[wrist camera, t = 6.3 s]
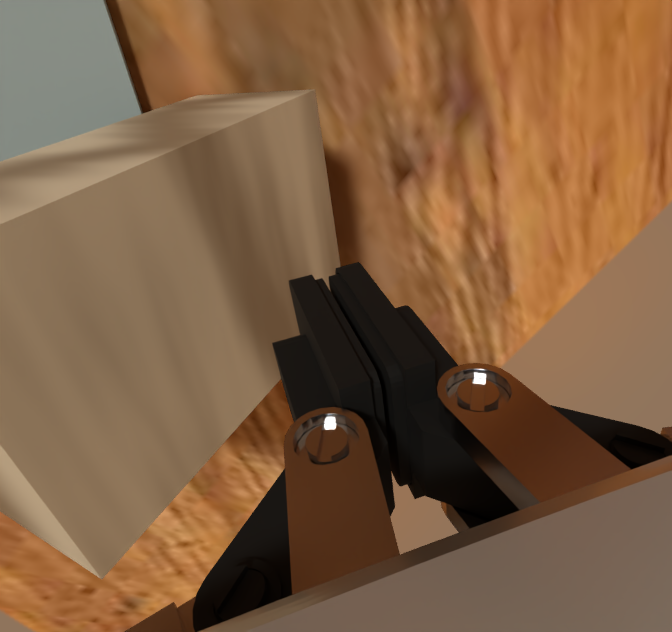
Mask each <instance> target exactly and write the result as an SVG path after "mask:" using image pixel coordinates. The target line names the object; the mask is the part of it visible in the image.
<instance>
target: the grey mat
mask: <svg viewBox="0 0 672 632" xmlns="http://www.w3.org/2000/svg"><path fill="white" fill-rule="evenodd" d="M140 114H143V111H142V108H141V105H140V102H139V99H138V96H137V93H136V90H135V87H134V84H133V81H132V78H131V75H130V72H129V69H128V66H127V63H126V60H125V57H124V54H123V51H122V48H121V45H120V42H119V39H118V36H117V33H116V30H115V27H114V24H113V21H112V18H111V15H110V12H109V9H108V6H107V3H106V0H0V161H3V160H6V159H9V158H12V157H15V156H18V155H21V154H24V153H27V152H30V151H33V150H36V149H39V148H42V147H45V146H48V145H51V144H54V143H57V142H60V141H63V140H66V139H69V138H72V137H75V136H78V135H81V134H84V133H87V132H90V131H93V130H96V129H99V128H102V127H105V126H108V125H111V124H113V123H116V122H119V121H122V120H125V119H128V118H131V117H134V116H137V115H140Z"/></svg>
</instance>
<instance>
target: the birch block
mask: <svg viewBox="0 0 672 632" xmlns="http://www.w3.org/2000/svg"><path fill="white" fill-rule="evenodd" d="M338 267H341V266H340V259H339V252H338V245H337V238H336V231H335V224H334V217H333V211H332V204H331V197H330V190H329V183H328V176H327V169H326V162H325V156H324V149H323V142H322V135H321V128H320V121H319V114H318V107H317V101H316V94H315V90H295V91H276V92H256V93H237V94H217V95H198V96H194V97H191V98H188V99H185V100H182V101H179V102H176V103H173V104H170V105H167V106H164V107H161V108H158V109H155V110H152V111H149V112H146V113H143V114H140V115H137V116H134V117H131V118H128V119H125V120H122V121H119V122H116V123H113V124H111V125H108V126H105V127H102V128H99V129H96V130H93V131H90V132H87V133H84V134H81V135H78V136H75V137H72V138H69V139H66V140H63V141H60V142H57V143H54V144H51V145H48V146H45V147H42V148H39V149H36V150H33V151H30V152H27V153H24V154H21V155H18V156H15V157H12V158H9V159H6V160H3V161H0V512H2V513H3V514H5V515H6V516H8V517H9V518H11V519H12V520H14V521H15V522H17V523H18V524H20V525H21V526H23V527H24V528H26V529H27V530H29V531H30V532H32V533H33V534H35V535H36V536H38V537H39V538H41V539H42V540H44V541H45V542H47V543H48V544H50V545H51V546H53V547H54V548H56V549H57V550H59V551H60V552H62V553H63V554H65V555H66V556H68V557H69V558H71V559H72V560H74V561H75V562H77V563H78V564H80V565H81V566H83V567H84V568H86V569H87V570H89V571H90V572H92V573H93V574H95V575H96V576H98V577H99V578H101V579H103V578H104V576H105V575H106V574H107V573H108V572H109V571H110V570H111V569H112V568H113V566H114V565H115V564H116V563H117V562H118V561H119V560H120V559H121V557H122V556H123V555H124V554H125V553H126V552H127V551H128V550H129V548H130V547H131V546H132V545H133V544H134V543H135V542H136V541H137V540H138V538H139V537H140V536H141V535H142V534H143V533H144V532H145V531H146V529H147V528H148V527H149V526H150V525H151V524H152V523H153V522H154V520H155V519H156V518H157V517H158V516H159V515H160V514H161V513H162V512H163V510H164V509H165V508H166V507H167V506H168V505H169V504H170V503H171V501H172V500H173V499H174V498H175V497H176V496H177V495H178V494H179V492H180V491H181V490H182V489H183V488H184V487H185V486H186V485H187V484H188V482H189V481H190V480H191V479H192V478H193V477H194V476H195V475H196V473H197V472H198V471H199V470H200V469H201V468H202V467H203V466H204V464H205V463H206V462H207V461H208V460H209V459H210V458H211V457H212V456H213V454H214V453H215V452H216V451H217V450H218V449H219V448H220V447H221V445H222V444H223V443H224V442H225V441H226V440H227V439H228V438H229V436H230V435H231V434H232V433H233V432H234V431H235V430H236V429H237V428H238V426H239V425H240V424H241V423H242V422H243V421H244V420H245V419H246V417H247V416H248V415H249V414H250V413H251V412H252V411H253V410H254V408H255V407H256V406H257V405H258V404H259V403H260V402H261V401H262V400H263V398H264V397H265V396H266V395H267V394H268V393H269V392H270V391H271V389H272V388H273V387H274V386H275V385H276V384H277V383H278V382H279V380H280V379H281V376H280V372H279V368H278V365H277V361H276V357H275V353H274V349H273V345H272V343H273V342H277V341H281V340H284V339H288V338H291V337H295V336H298V335H300V333H299V328H298V324H297V319H296V315H295V310H294V306H293V301H292V296H291V292H290V287H289V280H292V279H296V278H300V277H304V276H308V275H313V277H314V279H315V280H317V279H320V278H323V280H324V281H325V283H326V285H327V287H328V288H329V290H330V286H329V276H332V275H336V274H335V270H336V268H338Z"/></svg>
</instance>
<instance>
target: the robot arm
mask: <svg viewBox="0 0 672 632" xmlns="http://www.w3.org/2000/svg"><path fill="white" fill-rule="evenodd" d="M335 274H336V275H332V276H329V286H330V290H329V288H328V287H327V285H326V283H325V281H324V280H323V278H320V279H317V280H315V279H314V277H313V275H308V276H304V277H300V278H296V279H292V280H289V287H290V292H291V296H292V301H293V306H294V310H295V315H296V319H297V324H298V328H299V333H300V335H298V336H295V337H291V338H288V339H284V340H281V341H277V342H273V343H272V345H273V349H274V353H275V357H276V361H277V365H278V368H279V372H280V376H281V379H282V383H283V387H284V390H285V394H286V397H287V401H288V404H289V407H290V411H291V414H292V417H293V420H294V423H293V424H292V425H291V426H290V428H289V430H288V432H287V433H286V435H285V441H284V459H285V469H284V470H283V472H282V473H281V475H280V476H279V477H278V479H277V480H276V481H275V483H274V484H273V486H272V487H271V488H270V490H269V491H268V492H267V494H266V495H265V497H264V498H263V499H262V501H261V502H260V503H259V505H258V506H257V508H256V509H255V510H254V512H253V513H252V515H251V516H250V517H249V519H248V520H247V521H246V523H245V524H244V526H243V527H242V528H241V530H240V531H239V532H238V534H237V535H236V537H235V538H234V539H233V541H232V542H231V543H230V545H229V546H228V548H227V549H226V550H225V552H224V553H223V555H222V556H221V557H220V559H219V560H218V561H217V563H216V564H215V566H214V567H213V568H212V570H211V571H210V572H209V574H208V575H207V577H206V578H205V580H204V581H203V583H202V585H201V587H200V589H199V590H198V592H197V595H196V597H194V598H192V599H191V600H189V601H188V602H186V603H184V604H183V605H181V606H179V607H178V608H177V606H176V604H175V603H174V602H173V603H171V604H170V605H168V606H166V607H165V608H163V609H161V610H160V611H158V612H156V613H155V614H153V615H151V616H150V617H148V618H146V619H145V620H143V621H141V622H140V623H138V624H136V625H135V626H133V627H131V628H130V629H128V630H126V631H125V632H672V427H665V428H662V431H661V434H658V433H656V432H654V431H652V430H649V429H646V428H643V427H640V426H636V425H632V424H628V423H623V422H619V421H615V420H611V419H606V418H603V417H598V416H594V415H590V414H585V413H581V412H577V411H573V410H568V409H564V408H560V407H556V406H552V405H549V404H547V403H546V402H545V401H544V400H543V399H541V398H540V397H539V396H537V395H536V394H535V393H534V392H532V391H531V390H530V389H529V388H527V387H526V386H525V385H523V384H522V383H521V382H520V381H518V380H517V379H516V378H515V377H513V376H512V375H511V374H509V373H508V372H506V371H504V370H503V369H501V368H498V367H495V366H492V365H489V364H480V363H471V364H463V365H460V366H458V365H457V363H456V362H455V361H454V360H453V359H452V357H451V356H450V355H449V354H448V353H447V351H446V350H445V349H444V348H443V346H442V345H441V344H440V343H439V342H438V340H437V339H436V338H435V337H434V336H433V334H432V333H431V332H430V331H429V330H428V328H427V327H426V326H425V325H424V323H423V322H422V321H421V320H420V319H419V317H418V316H417V315H416V314H415V313H414V311H413V310H412V309H411V308H410V307H409V306H406V305H405V306H402V307H398V308H394V306H393V305H392V304H391V303H390V301H389V300H388V299H387V297H386V296H385V295H384V293H383V292H382V291H381V290H380V288H379V287H378V286H377V284H376V283H375V282H374V280H373V279H372V278H371V277H370V275H369V274H368V273H367V271H366V270H365V269H364V267H363V266H362V265H361V264H360V263H359V262H357V263H353V264H350V265H346V266H342V267H338V268H336V270H335ZM391 471H392V473H393V475H394V477H395V480H396V482H397V483H398V484H399V486H403V485H406V484H408V486H409V488H410V490H411V492H412V494H413V496H414V498H415V499H416V498H419V497H422V496H427V497H430V498H433V499H435V500H438V501H441V506H442V509H443V511H444V513H445V515H446V516H447V518H448V519H449V520H450V522H451V523H452V524H453V526H454V527H455V528H456V529H457V531H458V532H459V533H457V534H454V535H452V536H449V537H446V538H444V539H441V540H438V541H436V542H433V543H430V544H427V545H425V546H422V547H419V548H417V549H414V550H411V551H409V552H406V553H403V554H401V555H400V554H399V550H398V546H397V542H396V538H395V534H394V530H393V526H392V522H391V518H390V516H391V514H392V512H393V510H394V508H395V503H394V494H393V483H392V475H391Z"/></svg>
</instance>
